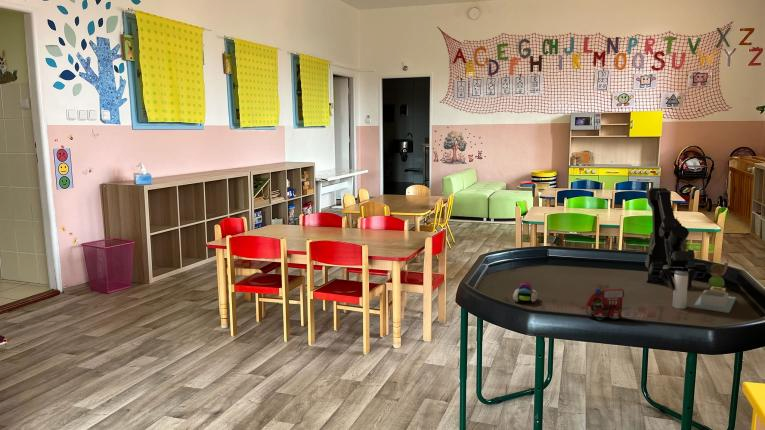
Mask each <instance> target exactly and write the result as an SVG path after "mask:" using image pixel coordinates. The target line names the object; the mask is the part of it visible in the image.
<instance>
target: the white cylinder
mask: <svg viewBox="0 0 765 430" xmlns="http://www.w3.org/2000/svg"><path fill="white" fill-rule="evenodd" d="M673 274H674V276H673V283H674V291H673V290H672V291H673V292H672V306H671V307H672V308H674V309H680V310H684V309H687V297H688V289H687V285H688V272H687V271H682V270H676V271H675V272H673Z"/></svg>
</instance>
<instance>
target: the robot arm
mask: <svg viewBox="0 0 765 430" xmlns="http://www.w3.org/2000/svg"><path fill="white" fill-rule="evenodd" d="M645 198H646V199H647V204H648V205H649V207H650V209H651V211H652V212H651V213H652V214H651V217H652V221H651V222H652V232H653V245H652V246H651V248H650V249H649V248H648V253H647V255H646V259H645V260H644V262H645V267H646V269H648V270H647V280H646V283H649V284H655V285H656V284H657V285H665V283H666V284H667V285H668V287H669V288H670V289H671V291H674V278H673V276H672V273H675V271H676V270H682V271H687V272H688V285H687V292H690V291H691V288H692V283H693V280H695V279H696V278H701V279H702V278H704V277H706V274H707V272H708V271H709V268H708V265H707V264H705V263H694V264H693V266H691V267H690V266H687V265H688V264H689V261H690V260H694V259H695V250H694V249H687V250H686V251H683V248H682V245H684V243H685V241H686V242H687V238H688V236H689V234H690V231H689V230H688V227H686V226H684V225H682V223H681V222H680V221H679V220H678V219H677V218H676V217H675V214H674V208H673V204H672V190H668V189H667V188H666V187H649V189H648V190H646V192H645ZM665 239H668V240H666V242H665Z"/></svg>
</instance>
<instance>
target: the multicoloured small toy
mask: <svg viewBox="0 0 765 430" xmlns="http://www.w3.org/2000/svg"><path fill="white" fill-rule="evenodd" d="M518 298H519V300H520V301H524V302H525V301H526V302H527V301H530V302H531V301H536V302H537V300H538V299H537V298H538V292H537V290H535V289H533V287H532V284H531V283H530V282H528V281H523V282H521V283H520V285H519V286H518V288H517V289H515V290H514V293H513V294H512V299H514V300H518ZM514 300H513V301H514ZM519 300H518V301H519Z"/></svg>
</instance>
